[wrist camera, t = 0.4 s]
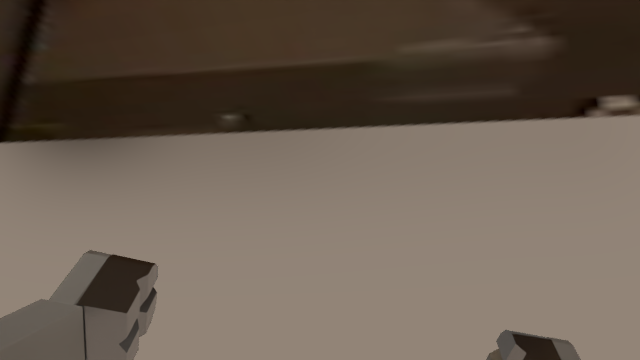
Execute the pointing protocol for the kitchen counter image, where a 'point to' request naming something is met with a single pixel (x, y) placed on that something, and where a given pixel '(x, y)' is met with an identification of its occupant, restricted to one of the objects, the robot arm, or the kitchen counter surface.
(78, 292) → the robot arm
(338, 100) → the kitchen counter surface
